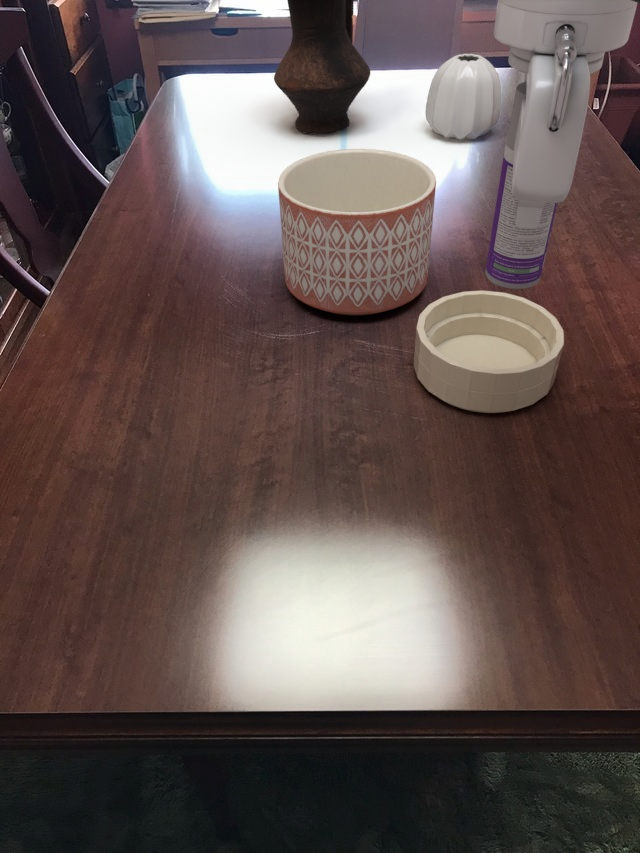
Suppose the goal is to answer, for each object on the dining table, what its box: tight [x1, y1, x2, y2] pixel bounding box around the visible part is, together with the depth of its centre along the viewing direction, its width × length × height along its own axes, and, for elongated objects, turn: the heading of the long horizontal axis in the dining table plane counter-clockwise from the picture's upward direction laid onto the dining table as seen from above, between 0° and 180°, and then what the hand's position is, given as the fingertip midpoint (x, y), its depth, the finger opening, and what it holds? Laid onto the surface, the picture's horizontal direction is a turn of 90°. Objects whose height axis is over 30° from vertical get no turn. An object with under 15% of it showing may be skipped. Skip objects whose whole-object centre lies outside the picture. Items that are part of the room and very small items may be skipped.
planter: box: [277, 148, 437, 317], centre depth 89 cm, size 19×19×15 cm
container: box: [484, 81, 559, 290], centre depth 54 cm, size 5×5×15 cm
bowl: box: [413, 290, 565, 414], centre depth 77 cm, size 16×16×6 cm
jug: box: [273, 0, 371, 135], centre depth 129 cm, size 21×18×30 cm
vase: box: [425, 53, 502, 141], centre depth 129 cm, size 14×14×13 cm
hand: (526, 207), depth 55 cm, fingers closed on container, 4 cm apart
